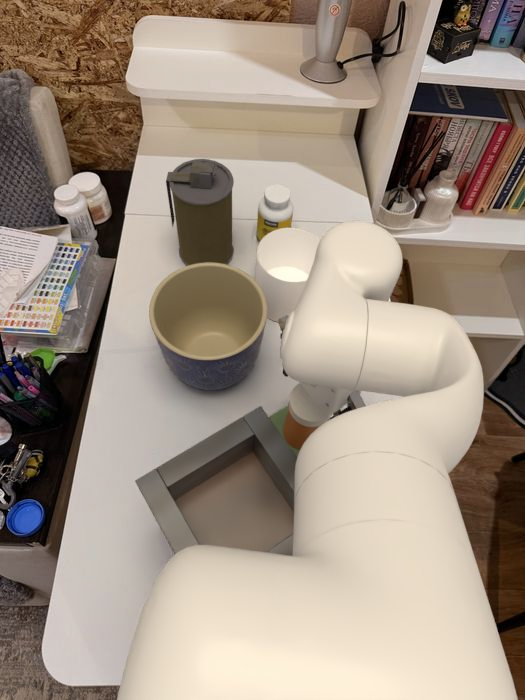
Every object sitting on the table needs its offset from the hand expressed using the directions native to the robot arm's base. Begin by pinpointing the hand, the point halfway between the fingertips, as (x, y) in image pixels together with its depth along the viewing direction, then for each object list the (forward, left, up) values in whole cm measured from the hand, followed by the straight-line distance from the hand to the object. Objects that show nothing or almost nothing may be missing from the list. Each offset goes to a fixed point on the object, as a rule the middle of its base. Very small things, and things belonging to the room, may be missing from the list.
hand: (314, 397), depth 68 cm
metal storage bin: (-8, +17, -15) cm, 23 cm away
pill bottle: (+36, -19, -15) cm, 44 cm away
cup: (+23, -13, -15) cm, 31 cm away
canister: (+40, -6, -15) cm, 43 cm away
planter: (+19, +5, -15) cm, 25 cm away
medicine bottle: (0, 0, -14) cm, 14 cm away
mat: (0, 0, -15) cm, 15 cm away
